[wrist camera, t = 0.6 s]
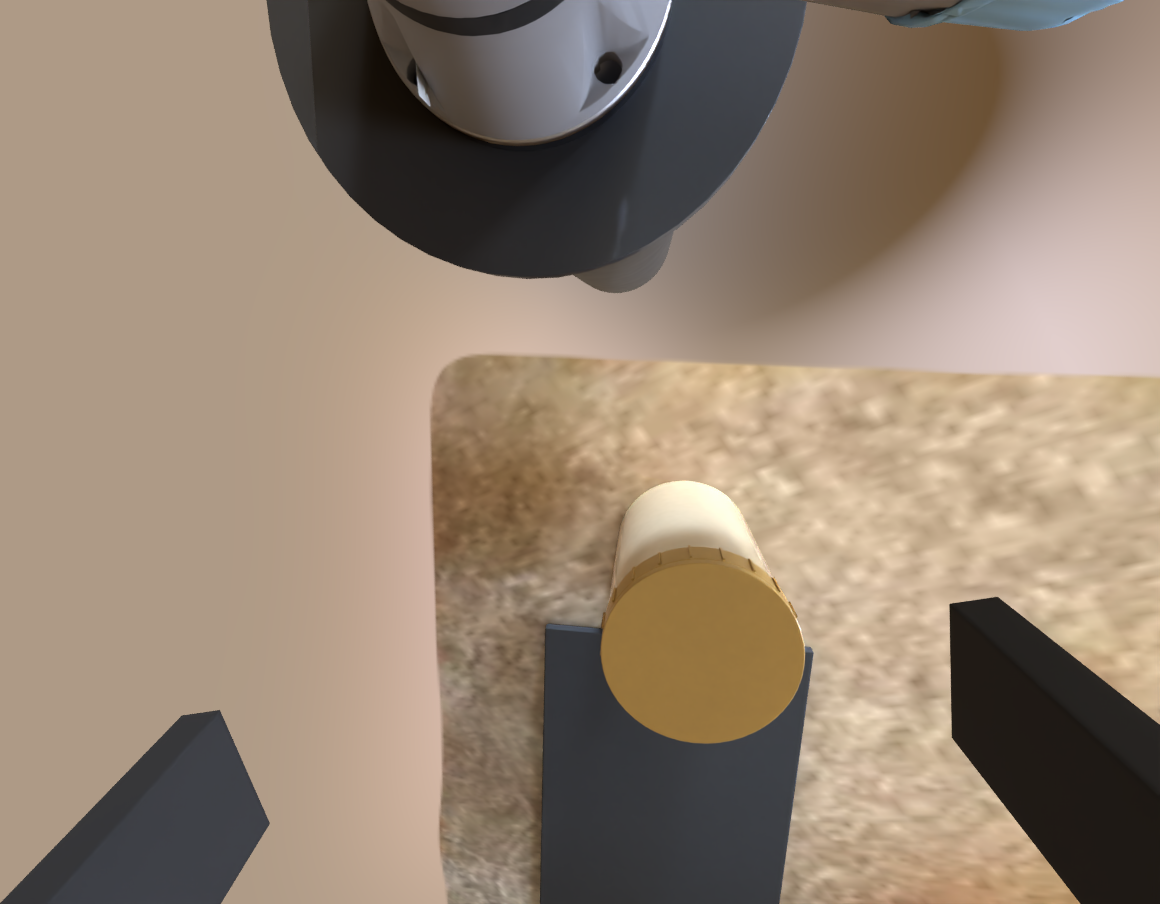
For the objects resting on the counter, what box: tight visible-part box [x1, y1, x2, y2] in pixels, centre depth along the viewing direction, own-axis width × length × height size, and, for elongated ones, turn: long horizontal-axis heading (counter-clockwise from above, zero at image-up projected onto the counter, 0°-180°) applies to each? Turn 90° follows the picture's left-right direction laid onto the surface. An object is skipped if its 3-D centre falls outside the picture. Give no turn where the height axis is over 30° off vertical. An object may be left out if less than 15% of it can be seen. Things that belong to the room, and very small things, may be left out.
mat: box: [540, 624, 813, 904], centre depth 38 cm, size 26×16×1 cm, turn 178°
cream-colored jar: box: [609, 481, 773, 601], centre depth 28 cm, size 8×8×11 cm
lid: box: [600, 545, 805, 744], centre depth 23 cm, size 8×8×2 cm
